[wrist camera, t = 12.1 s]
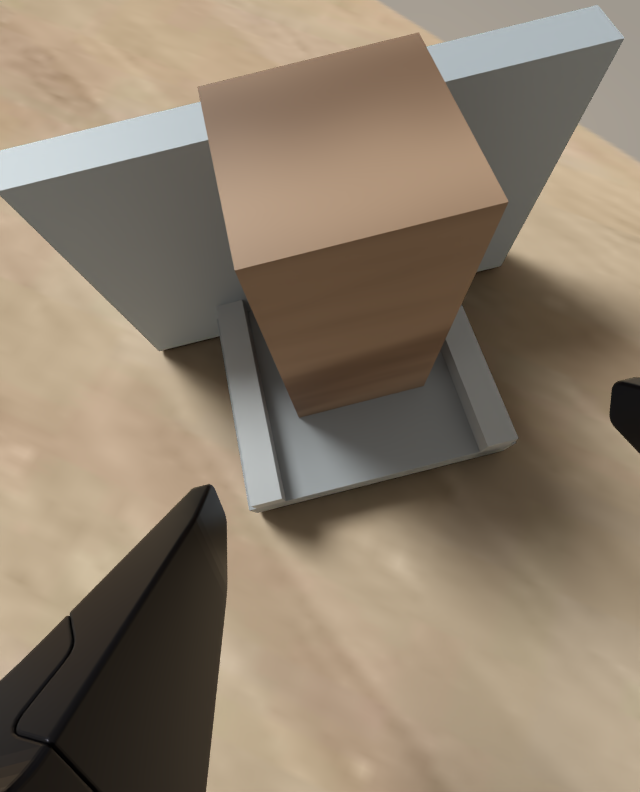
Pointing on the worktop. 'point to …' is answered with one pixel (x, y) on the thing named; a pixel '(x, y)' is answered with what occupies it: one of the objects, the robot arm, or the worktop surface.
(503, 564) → the worktop surface
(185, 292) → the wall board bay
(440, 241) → the walnut cabinet block
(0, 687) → the robot arm
